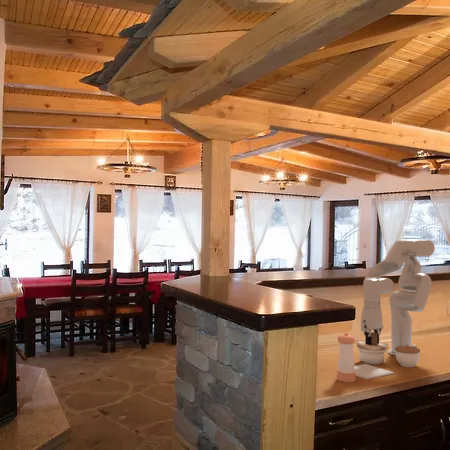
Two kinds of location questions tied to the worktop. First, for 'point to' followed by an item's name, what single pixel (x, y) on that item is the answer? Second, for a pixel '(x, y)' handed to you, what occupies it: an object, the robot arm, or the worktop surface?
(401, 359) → the lidded jar
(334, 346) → the worktop surface
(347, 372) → the pepper shaker
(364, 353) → the mushroom
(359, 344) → the lid
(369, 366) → the mat
